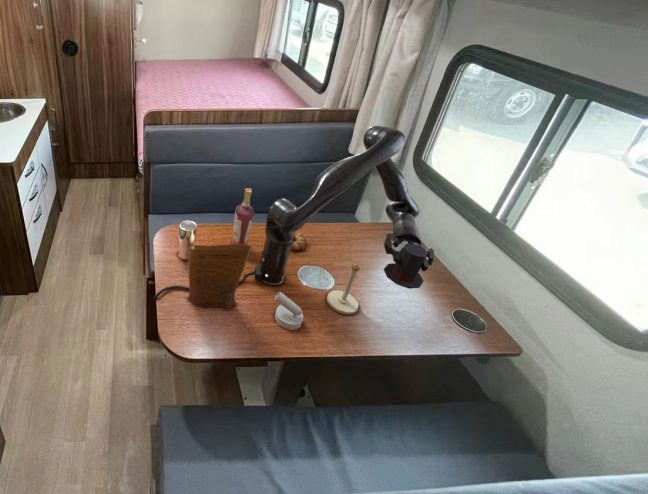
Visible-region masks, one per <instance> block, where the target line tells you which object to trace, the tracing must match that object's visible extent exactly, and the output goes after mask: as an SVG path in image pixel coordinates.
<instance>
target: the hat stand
mask: <svg viewBox="0 0 648 494" xmlns="http://www.w3.org/2000/svg"><path fill="white" fill-rule="evenodd" d="M360 270H361V267H360V265H359V264H357V263H354V264H352V265H351V271H350V273H349V276H348V279H347V282H346V284H345V287H344V290H338V289H336V290H331V291H329V293H328V294H327V296H326V302H327V304H328V306H329V307H330V308H331V309H332V310H334V311H335V312H337V313H338V314H343V315H348V316H350V315H353V314H356V313H357V312H358V310H359V302H358V300H357V299H356V298H355V296H354V295H352V294H351V293H350V291H351V289H352V286H353V285H354V284H353V283H354V282H355V279H356V276H357V273H358V272H359V271H360Z"/></svg>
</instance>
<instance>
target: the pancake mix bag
mask: <svg viewBox="0 0 648 494" xmlns="http://www.w3.org/2000/svg"><path fill="white" fill-rule="evenodd" d="M251 248H252V245H248V244H247V245H231V244H219V245H210V246H206V245H200V244H199V245H198V244H196V245H195V244H194V246H193V248H190V251H189V260H188V262H187V264H188V265H187V268H188V271H187V272H188V286H189V287H188V288H190V291H189V295H188V300H189V301H190V302H192V303H193V305H196V306H200V307H210V308H220V309H226V310H227V309H229V308H231V307H233V306H234V305H235V304H236V291H237V289H238V287H239V285H238V283H239V281H240V280H241V277H242V274H243V272H244V270H245V267H246V263H247V260H248V258H249V256H250V252H251Z"/></svg>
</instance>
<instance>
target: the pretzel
mask: <svg viewBox="0 0 648 494" xmlns="http://www.w3.org/2000/svg"><path fill="white" fill-rule="evenodd" d="M292 235H293V238H294V240H293V244H292V248H291V251H295V252H296V251H300V250H301V251H302V250H304V249H305V247H306V246H307V244H308V243H307V242H308V241H307V239H306V237H305V236H304V235H303V233H300V232H297V231H296V232H294V233H292Z"/></svg>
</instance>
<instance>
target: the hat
mask: <svg viewBox="0 0 648 494" xmlns="http://www.w3.org/2000/svg"><path fill="white" fill-rule="evenodd" d="M421 246H422V245H421ZM421 246H419V245H416V244H411V243H408V244H405V245H404V247H403V249H402V251H401V253H400V262H399V264H396V263H395V262H394V263H391V262H390V263H387V264H386V266H385V267H384V268H383V272H384V274H385V276H386V278H388V279H389V280H390V281H391V282H392V283H394V284H395V285H398V286H400V287H403V288H406V289H420V288H421V286H422V285H423V284H424V279H423V277H422V275H421V273H419V272H420V270H421V266H422V264H423V263H424V261H425V259H426V257H427V251H426V250H425V249H426V248H424V246H422V247H421Z"/></svg>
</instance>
